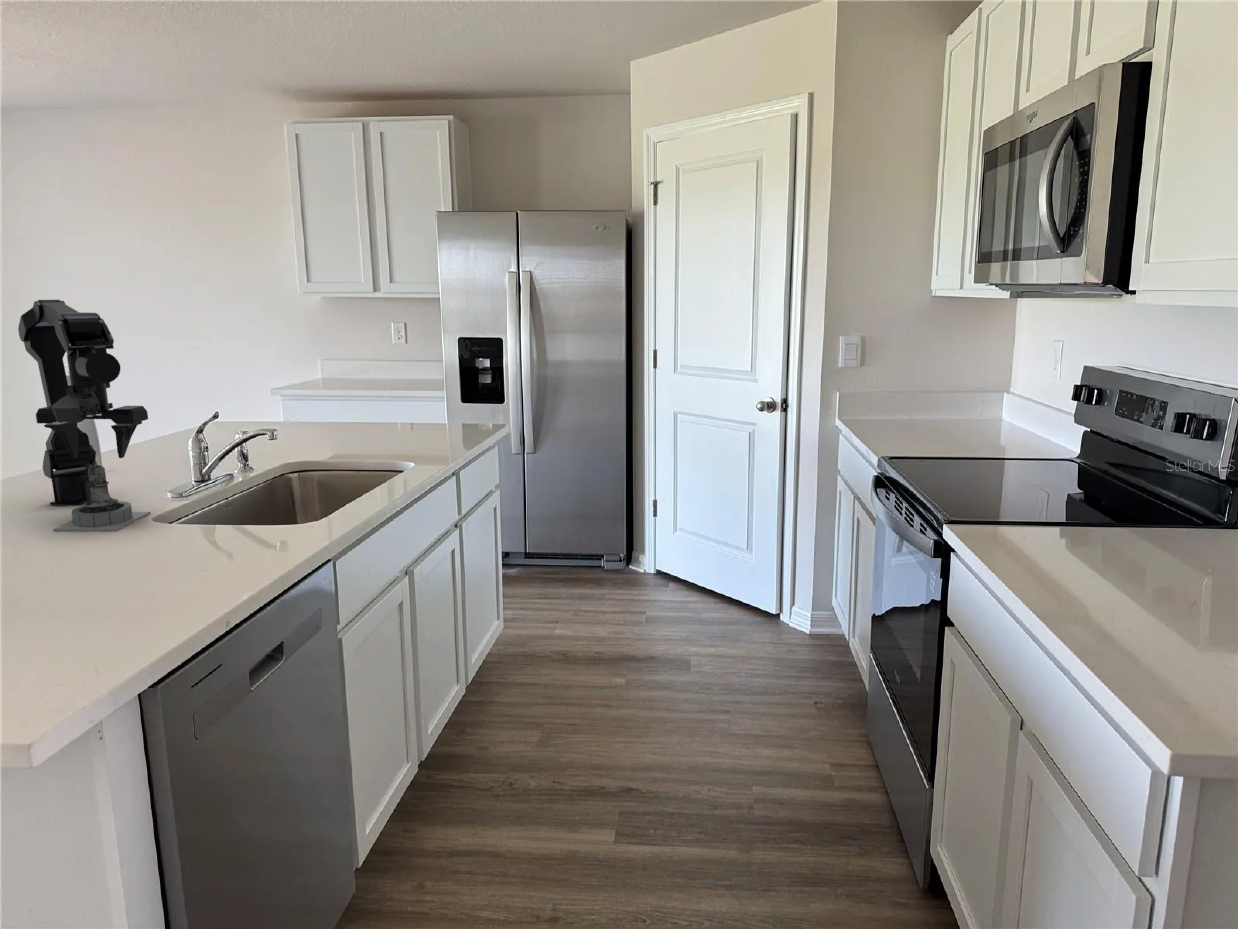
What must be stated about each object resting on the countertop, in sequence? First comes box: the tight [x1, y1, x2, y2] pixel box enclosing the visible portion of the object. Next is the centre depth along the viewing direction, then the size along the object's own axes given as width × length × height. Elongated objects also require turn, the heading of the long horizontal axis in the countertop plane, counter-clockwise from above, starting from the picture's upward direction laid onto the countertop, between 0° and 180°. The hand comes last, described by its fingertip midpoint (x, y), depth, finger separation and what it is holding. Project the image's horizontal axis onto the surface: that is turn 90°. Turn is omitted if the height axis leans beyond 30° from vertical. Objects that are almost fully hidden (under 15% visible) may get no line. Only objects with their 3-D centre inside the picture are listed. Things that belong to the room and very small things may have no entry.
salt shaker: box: [83, 461, 119, 513], centre depth 163 cm, size 6×6×12 cm
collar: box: [52, 500, 151, 532], centre depth 164 cm, size 12×12×3 cm
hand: (98, 457), depth 163 cm, fingers open, 9 cm apart
